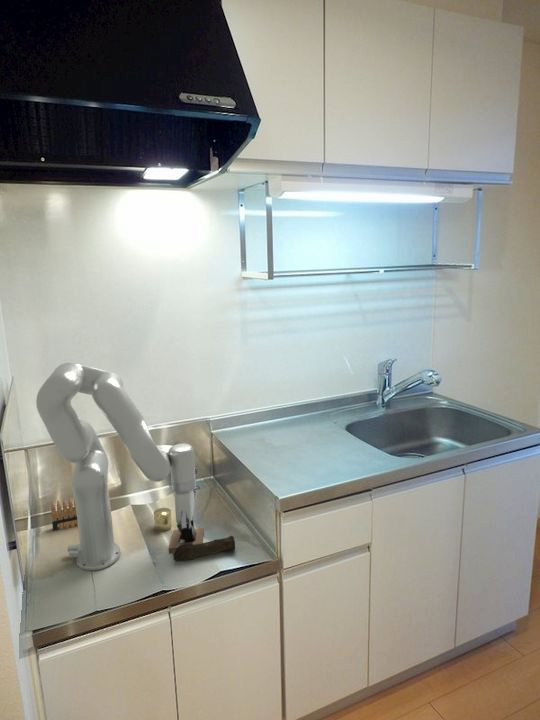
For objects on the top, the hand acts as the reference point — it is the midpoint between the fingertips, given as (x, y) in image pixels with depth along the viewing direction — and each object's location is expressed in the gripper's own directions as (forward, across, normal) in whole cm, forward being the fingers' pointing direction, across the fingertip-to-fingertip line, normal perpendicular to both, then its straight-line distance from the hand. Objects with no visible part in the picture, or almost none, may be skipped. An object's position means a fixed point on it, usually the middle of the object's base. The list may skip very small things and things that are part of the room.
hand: (188, 534), depth 146 cm
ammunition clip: (+3, -11, -41) cm, 43 cm away
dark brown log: (+6, +6, +11) cm, 14 cm away
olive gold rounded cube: (+3, -9, -10) cm, 13 cm away
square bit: (+1, 0, +1) cm, 2 cm away
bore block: (+3, 0, -1) cm, 3 cm away
